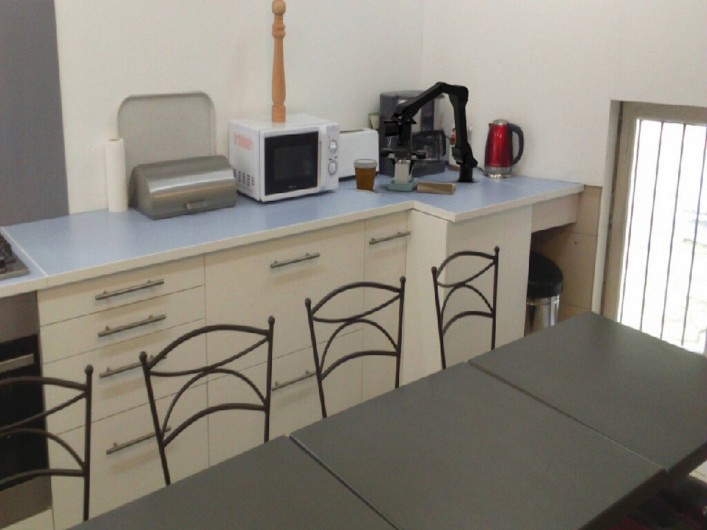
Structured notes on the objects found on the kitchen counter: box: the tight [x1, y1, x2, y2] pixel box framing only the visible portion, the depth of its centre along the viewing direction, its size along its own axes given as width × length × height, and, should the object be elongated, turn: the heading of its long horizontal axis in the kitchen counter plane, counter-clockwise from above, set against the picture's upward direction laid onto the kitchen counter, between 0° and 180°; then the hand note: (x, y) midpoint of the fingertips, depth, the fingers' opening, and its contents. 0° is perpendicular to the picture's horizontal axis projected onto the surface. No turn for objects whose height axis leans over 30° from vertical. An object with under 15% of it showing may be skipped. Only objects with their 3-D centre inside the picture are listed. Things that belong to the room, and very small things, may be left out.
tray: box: [387, 176, 419, 192], centre depth 307 cm, size 14×10×2 cm
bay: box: [416, 181, 456, 195], centre depth 301 cm, size 11×14×4 cm
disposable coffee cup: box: [352, 158, 379, 193], centre depth 298 cm, size 10×10×12 cm
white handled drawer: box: [394, 157, 412, 185], centre depth 305 cm, size 9×5×10 cm, turn 165°
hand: (403, 174), depth 305 cm, fingers closed on white handled drawer, 5 cm apart
